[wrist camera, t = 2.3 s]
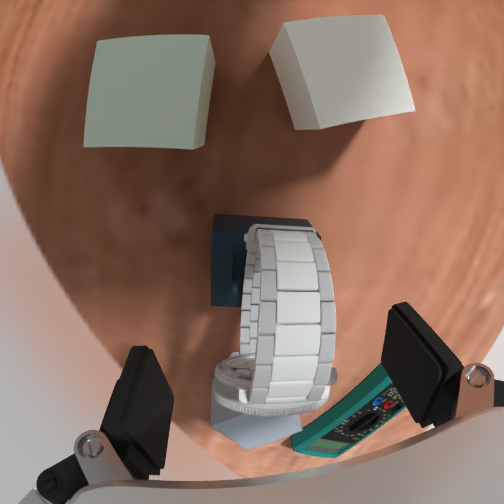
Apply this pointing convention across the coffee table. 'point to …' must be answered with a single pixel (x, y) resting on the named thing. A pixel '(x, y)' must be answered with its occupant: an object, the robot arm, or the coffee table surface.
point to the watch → (274, 315)
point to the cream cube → (339, 70)
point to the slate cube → (251, 425)
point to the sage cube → (150, 92)
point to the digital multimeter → (351, 418)
